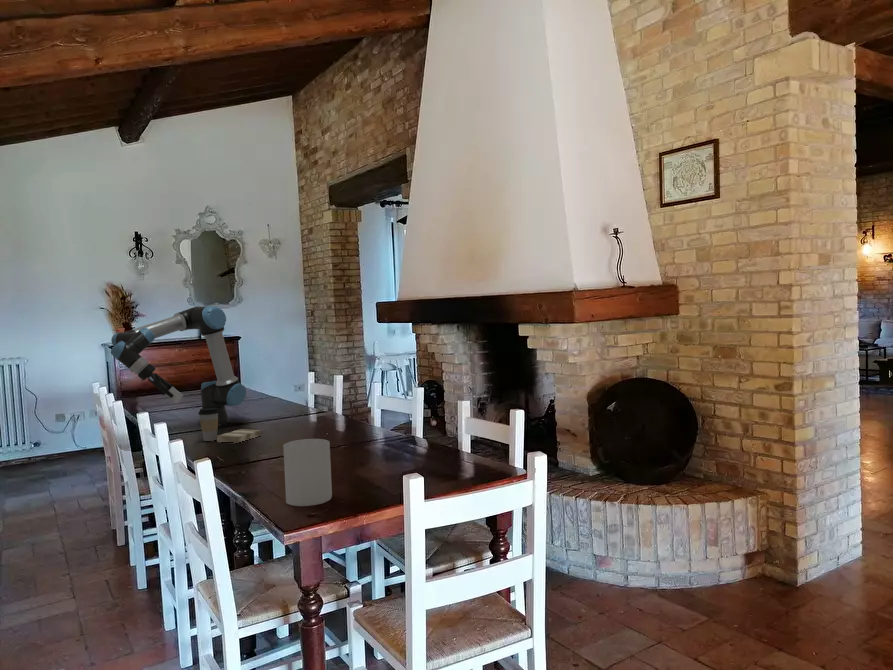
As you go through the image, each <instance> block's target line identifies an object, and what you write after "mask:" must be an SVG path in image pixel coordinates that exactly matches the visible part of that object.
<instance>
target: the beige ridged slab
mask: <svg viewBox="0 0 893 670" xmlns="http://www.w3.org/2000/svg"><path fill="white" fill-rule="evenodd" d="M261 435H262V433H261V430H260V429H246V428H245V429H244V428H241V429H237V430H233V431H230V432H226V433H225V432H224V433H222V434H217V440H216V442H217V443H221V442H234V443H233V444H235V443H238V444H240V443H239V442H241V443H243V442H242V441H245V440H248V441H250V440H249V439H251V440H253V439H252V438H254V439H256V438H255V437H258V436H261ZM258 438H259V437H258ZM245 442H246V441H245Z"/></svg>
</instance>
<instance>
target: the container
mask: <svg viewBox="0 0 893 670" xmlns="http://www.w3.org/2000/svg"><path fill="white" fill-rule="evenodd" d="M330 445H331V443H330V440H327V439H323V438H305V439H297V440H291V441H288V442H286V443H284V444H283V445H282V446H283V447H282V448H283V465H284V466H283V467H284V485H285V486H284V487H285V502H286V504H287V505H290V506H293V507H294V506H295V507H309V506H316V505H321V504H324V503H327V502H328V501H330V500H332V497H333V487H332V486H333V484H332V465H331V463H332V462H331V448H330V447H331V446H330Z"/></svg>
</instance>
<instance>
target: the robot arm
mask: <svg viewBox="0 0 893 670" xmlns="http://www.w3.org/2000/svg"><path fill="white" fill-rule="evenodd" d="M226 322H227V316H226V314H225V312H224V310H223V309H222V308H220V307H218V306H214V305H206V306H194V307H190V308H188V309H184V310H182V311H180V312H176V313H174V314H173V316H171V317H168V318H167V317H166V318H164V319H161V320H158V321H155V322H152V323H149V324H145V325H142V326H139V327H137V328H133V329H130V330H127V331H123V332H116V333H113V335H112V337H111V340H110V341H111V344H112V346H113V347H112V349H111V350H110V354H111V355H112V356H113V357H114V358H115V359H116V360H117V361H119V362H120V363H121V364H122V365H124V366H125V367H126V368H127V369H129V371H130V373H134V374H135V375H137V377H138V378H140V379H141V380H142V381H145V380H147V381H149V382H150V383H151V384H152V385H153V386H154V387H155V388H156V389H158V391H160V392H161V394H162V395H163V396H165V395H166V397H168V399H170V400H172V402H174V403H175V404H176V405H177V404H178V403H179V402H180V401H181V400H182V398H183V397H184V394H182V393H181V392H180V391H179V390H177V389H176V388H175V387H174V384H173V383H170V382H168V381H167V380H166V379H164V378H163V377H161V376H160V375H159V374H157V372H155V370H156V367H155V366H154V365H153V364H151V363H149V361H148V360H146V358H144V357H143V356H141V355H140V354H141V353H142V352H143V351H144V350H145V349H146V348H148V346H149V345H151V344H152V343H153V342H154V341H155V339H158V338H160V337H163V336H166V335H169V334H172V333H175V332H178V331H179V332H184V331H190V330H199V332H200V335H201V336H203V337H204V339H205V340H206V344H207V348H208V351H209V356H210V359H211V362H212V367H213V369H214V372H215V376H216V379H217V380H213V381H205V382H202V383H201V385H200V386H201V387H200V394H201V395H200V397H201V409H203V408H212V407H215V408H218V410H219V413H218V426H220V425H219V424H221V425H225V424H224V423H226V424H228V423H227V422H229V423H230V417H229V416H228V412H227V410H226V406H230V407H232V406H233V407H234V406H236V407H237V406H239V405H241V404H242V403H244V400H245V398H247V397H246V396H247V388H246V386H245V385H243V384H242V383H240V381H239V377H238V376H235V374H234V370H233V366H232V363H231V360H230V357H229V352H228V350H227V345H226V342H225V338H224V334H223V332H224V330H225V325H226ZM199 425H200V426H201V423H200V419H199Z"/></svg>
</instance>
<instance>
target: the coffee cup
mask: <svg viewBox="0 0 893 670" xmlns="http://www.w3.org/2000/svg"><path fill="white" fill-rule="evenodd" d="M218 413H219V410H218V408H215V407H212V408H203V409H202V408H200V409H199V411H198V415H199V420H200V423H201V425H200V430H201V432H202V438H203V442H204V441H211V442H215V441H214V440H216V441H217V436H218V429H219V428H218V426H219V425H218ZM200 423H199V424H200Z"/></svg>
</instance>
